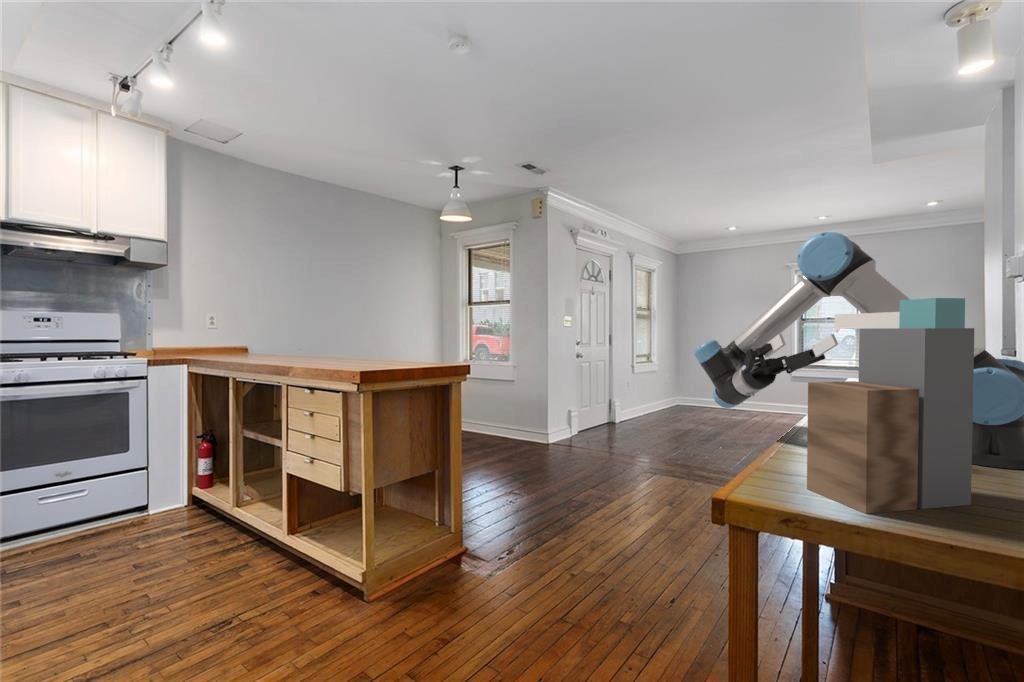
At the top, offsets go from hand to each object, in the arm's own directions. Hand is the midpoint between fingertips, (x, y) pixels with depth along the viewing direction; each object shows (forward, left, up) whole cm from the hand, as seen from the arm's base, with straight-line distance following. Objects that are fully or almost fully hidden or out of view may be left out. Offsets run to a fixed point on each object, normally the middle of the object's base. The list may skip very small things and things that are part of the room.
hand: (809, 339), depth 108 cm
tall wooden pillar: (+12, +24, -28) cm, 38 cm away
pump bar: (+1, +19, +2) cm, 19 cm away
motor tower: (+1, +24, -28) cm, 36 cm away
